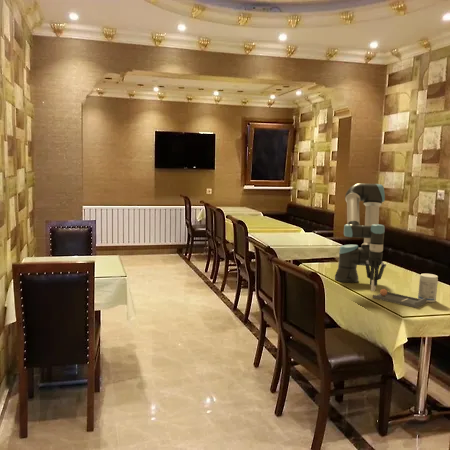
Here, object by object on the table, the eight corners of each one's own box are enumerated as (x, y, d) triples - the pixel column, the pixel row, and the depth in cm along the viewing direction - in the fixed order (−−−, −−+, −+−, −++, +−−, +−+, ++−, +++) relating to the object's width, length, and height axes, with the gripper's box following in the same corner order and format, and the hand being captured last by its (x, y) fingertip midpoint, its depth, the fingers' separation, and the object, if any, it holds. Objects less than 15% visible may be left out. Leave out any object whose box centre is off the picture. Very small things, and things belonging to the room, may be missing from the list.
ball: (378, 295, 276) (379, 288, 276) (381, 294, 279) (382, 287, 278) (385, 297, 273) (385, 290, 273) (388, 295, 276) (388, 289, 276)
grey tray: (372, 297, 273) (373, 292, 273) (383, 293, 283) (383, 288, 283) (416, 307, 256) (416, 302, 256) (426, 303, 266) (426, 297, 266)
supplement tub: (421, 297, 279) (423, 272, 277) (438, 300, 272) (440, 275, 270) (415, 300, 272) (417, 274, 270) (432, 303, 265) (434, 278, 263)
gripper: (362, 249, 279) (359, 289, 282) (383, 253, 270) (380, 293, 273) (368, 248, 284) (365, 287, 287) (389, 252, 275) (386, 291, 278)
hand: (372, 290), depth 280 cm, fingers closed
